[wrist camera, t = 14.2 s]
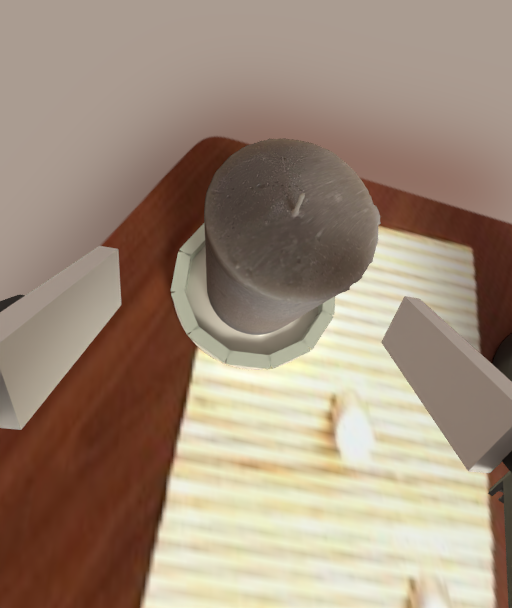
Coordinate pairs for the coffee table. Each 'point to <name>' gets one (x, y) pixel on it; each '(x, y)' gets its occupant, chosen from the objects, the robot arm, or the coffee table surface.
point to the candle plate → (226, 340)
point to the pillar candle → (284, 233)
